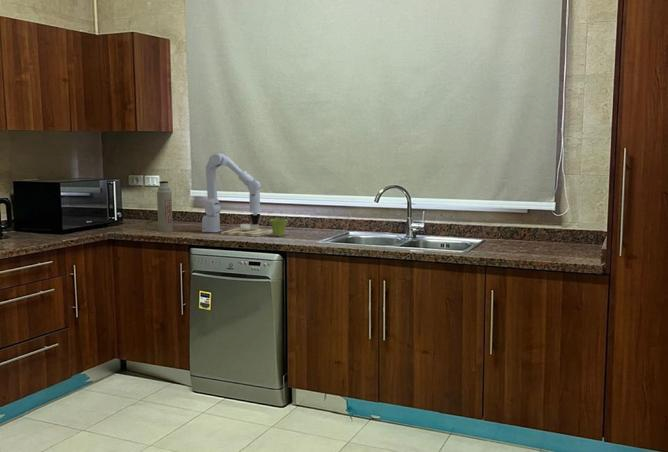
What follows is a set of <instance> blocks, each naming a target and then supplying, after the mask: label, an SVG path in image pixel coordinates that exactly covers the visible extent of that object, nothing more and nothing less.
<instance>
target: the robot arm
mask: <svg viewBox="0 0 668 452" xmlns="http://www.w3.org/2000/svg"><path fill="white" fill-rule="evenodd" d="M221 166H224V167H227V168H229V169H230V170H231V171H232V172H233V173H235V174H236V175H237V176H238V179H239V180H240V181H241V182H242V183H243V184H244V185H245V186H246V187H247V189H248V190H249V210H248V212H249V213H250V214H249V216H250V218H251V222H252V225H257V224H258V223H259V219H260V217H261V212H263V210H262V209H261V193H260V192H261V191H260V189H261V187H262V185H261V182H260V181H259V180H257V179H256V178H255V177H253V176H252V175H250V174H251V173H250V172H249V171H246V170H242V169H241V168H240V167H239V166H238V165H237V164H236V163H235V162H234V161H233V160H232V159H231V158H230V157H229V156H228V155H227V154H225V153H223V152H219V153H216V152H215V153H213V154H211V155H210V156H209V159H208V161H207V163H206V166H205V178H206V193H207V200H206V202H205V208H204V213H205V214H206V215H203V216H202V218H201V219H202V220H201V229H202V230H201V232H204V233H218V232H223V231H224V229H221V223H220V222H221V219H220V218H221V216H220V213H221V211H222V207H221V204H220V201H219V199H218V189H217V173H216V172H217V171H216V170H217V169H219V167H221Z"/></svg>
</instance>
